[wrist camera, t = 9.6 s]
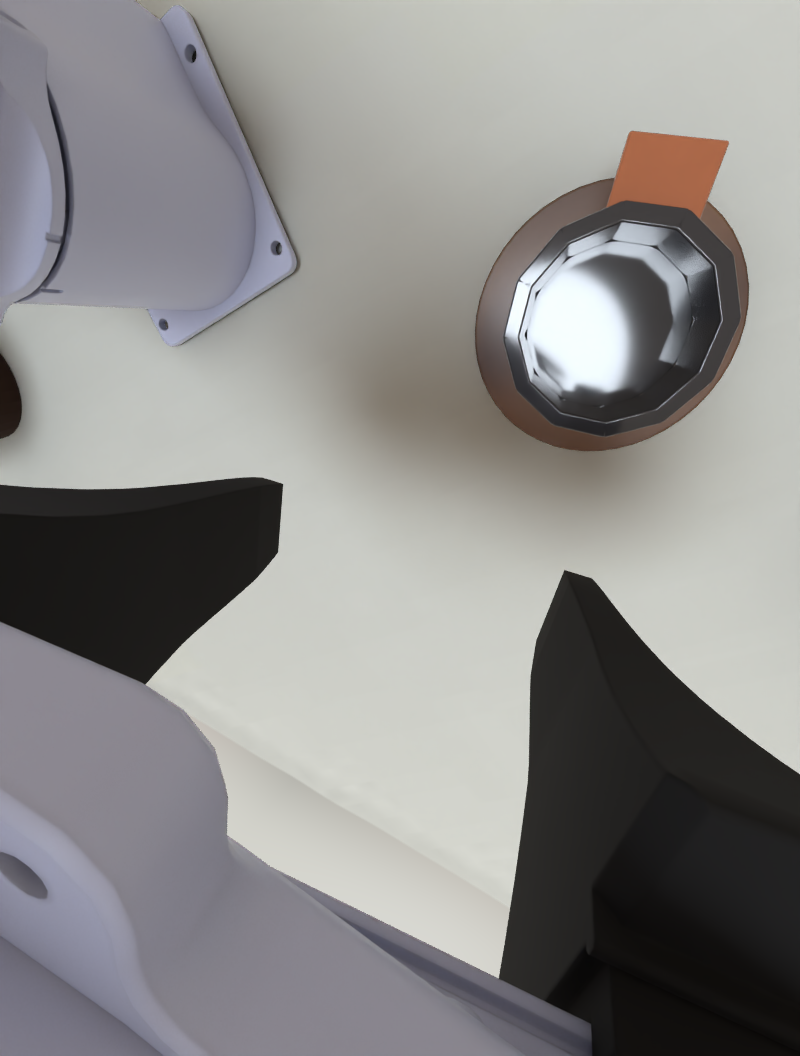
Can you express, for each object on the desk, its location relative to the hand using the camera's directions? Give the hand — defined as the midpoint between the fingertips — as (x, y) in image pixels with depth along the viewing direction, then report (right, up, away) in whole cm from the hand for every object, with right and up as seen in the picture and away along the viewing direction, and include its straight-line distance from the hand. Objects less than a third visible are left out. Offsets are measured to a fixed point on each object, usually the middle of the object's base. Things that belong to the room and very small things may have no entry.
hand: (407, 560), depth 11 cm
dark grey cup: (+7, +8, +5) cm, 12 cm away
